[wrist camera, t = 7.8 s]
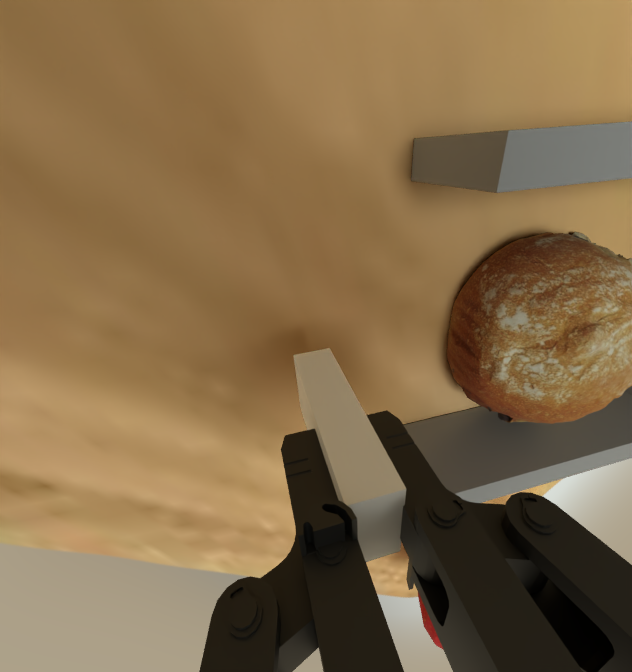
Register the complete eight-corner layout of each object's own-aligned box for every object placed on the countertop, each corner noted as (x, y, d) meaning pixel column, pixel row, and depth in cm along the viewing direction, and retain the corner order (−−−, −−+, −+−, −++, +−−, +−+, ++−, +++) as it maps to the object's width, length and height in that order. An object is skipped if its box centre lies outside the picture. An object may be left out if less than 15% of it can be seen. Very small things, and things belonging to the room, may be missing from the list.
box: (414, 138, 13) (508, 130, 9) (745, 114, 16) (936, 99, 12) (392, 444, 21) (433, 516, 17) (610, 389, 24) (692, 439, 20)
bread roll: (555, 256, 22) (735, 222, 14) (545, 408, 22) (715, 455, 15) (427, 240, 19) (566, 186, 11) (418, 414, 19) (547, 475, 12)
